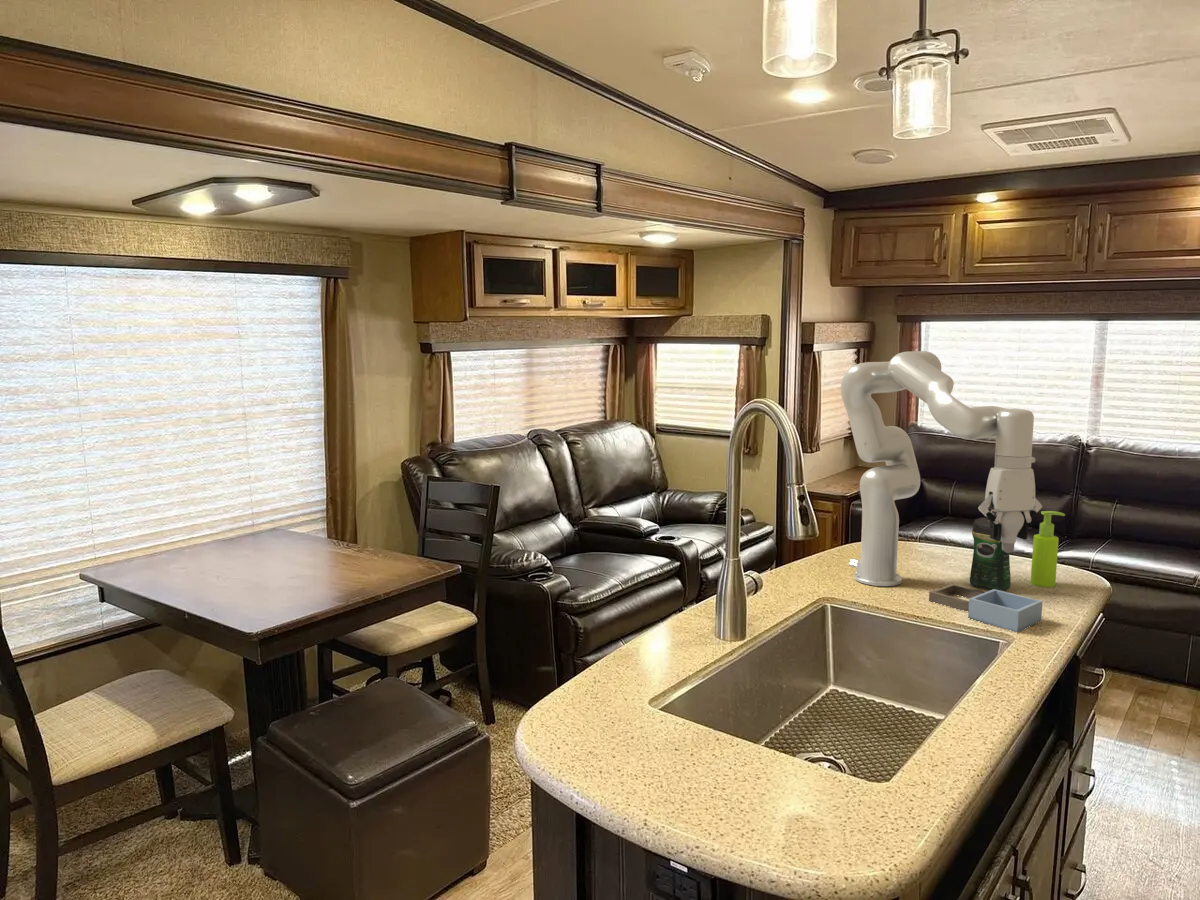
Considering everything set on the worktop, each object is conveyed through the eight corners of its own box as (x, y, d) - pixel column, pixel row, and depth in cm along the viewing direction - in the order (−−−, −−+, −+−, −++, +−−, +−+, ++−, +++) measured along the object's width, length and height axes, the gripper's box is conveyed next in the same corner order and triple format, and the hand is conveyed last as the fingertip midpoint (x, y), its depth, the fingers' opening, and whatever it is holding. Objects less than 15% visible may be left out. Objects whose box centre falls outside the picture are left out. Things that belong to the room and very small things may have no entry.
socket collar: (928, 601, 207) (929, 591, 207) (951, 592, 214) (952, 583, 213) (970, 613, 199) (971, 603, 198) (993, 603, 205) (994, 594, 205)
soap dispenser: (1062, 588, 217) (1068, 514, 214) (1034, 586, 218) (1039, 513, 216) (1054, 581, 223) (1060, 509, 220) (1027, 580, 224) (1032, 508, 221)
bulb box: (968, 618, 195) (969, 598, 194) (992, 608, 202) (993, 589, 201) (1017, 632, 186) (1018, 611, 185) (1041, 621, 192) (1042, 601, 192)
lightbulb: (993, 548, 196) (995, 503, 194) (1021, 550, 193) (1024, 505, 192) (993, 554, 190) (995, 508, 189) (1022, 557, 188) (1025, 510, 186)
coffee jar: (1014, 588, 217) (1019, 520, 215) (1001, 594, 212) (1005, 524, 210) (978, 579, 225) (982, 513, 222) (964, 585, 220) (968, 518, 217)
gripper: (1036, 459, 193) (1031, 533, 196) (968, 461, 191) (964, 536, 194) (1058, 464, 186) (1053, 541, 189) (987, 466, 184) (983, 544, 186)
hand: (1008, 538), depth 191 cm, fingers closed on lightbulb, 5 cm apart
